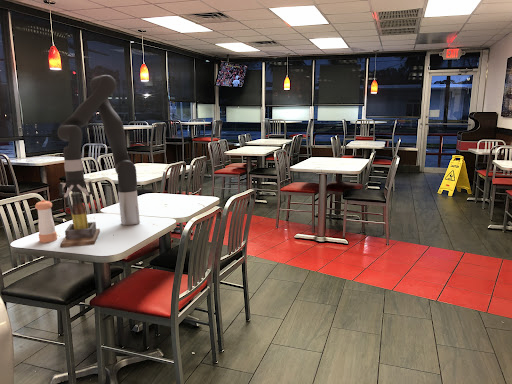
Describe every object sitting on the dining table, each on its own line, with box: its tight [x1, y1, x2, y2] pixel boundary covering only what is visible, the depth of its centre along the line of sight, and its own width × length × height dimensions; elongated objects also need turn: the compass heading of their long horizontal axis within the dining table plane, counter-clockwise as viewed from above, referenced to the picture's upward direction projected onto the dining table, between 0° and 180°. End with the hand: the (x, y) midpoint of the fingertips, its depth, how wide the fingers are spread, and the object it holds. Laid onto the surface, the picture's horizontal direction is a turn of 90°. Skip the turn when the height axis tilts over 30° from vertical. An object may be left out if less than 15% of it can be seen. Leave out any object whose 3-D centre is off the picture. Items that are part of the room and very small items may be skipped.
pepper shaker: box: [34, 199, 58, 244], centre depth 187 cm, size 7×7×19 cm
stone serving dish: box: [59, 221, 101, 248], centre depth 189 cm, size 14×20×6 cm
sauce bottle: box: [70, 191, 89, 230], centre depth 189 cm, size 7×6×20 cm
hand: (78, 204), depth 188 cm, fingers open, 8 cm apart
